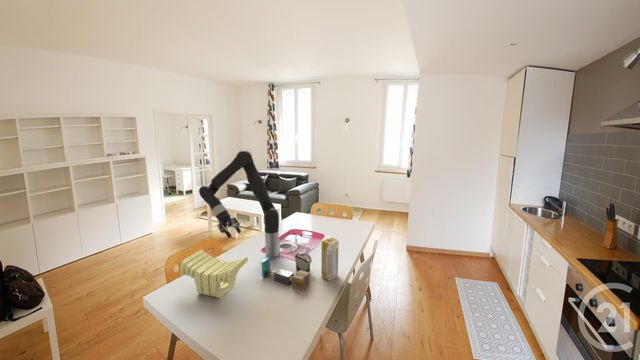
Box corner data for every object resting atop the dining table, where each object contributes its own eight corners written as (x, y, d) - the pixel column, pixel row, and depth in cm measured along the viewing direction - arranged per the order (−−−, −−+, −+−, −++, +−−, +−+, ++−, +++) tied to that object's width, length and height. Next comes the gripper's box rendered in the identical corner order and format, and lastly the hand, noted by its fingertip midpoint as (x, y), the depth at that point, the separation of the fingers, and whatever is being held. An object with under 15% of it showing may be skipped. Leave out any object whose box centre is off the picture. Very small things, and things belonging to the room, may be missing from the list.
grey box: (268, 272, 164) (267, 257, 162) (296, 280, 155) (296, 264, 153) (262, 277, 158) (261, 261, 157) (290, 285, 150) (290, 269, 148)
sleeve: (279, 276, 160) (279, 268, 159) (293, 280, 156) (293, 272, 155) (274, 281, 155) (273, 272, 154) (288, 285, 151) (288, 277, 150)
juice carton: (330, 271, 166) (330, 234, 162) (340, 276, 161) (340, 237, 156) (319, 277, 160) (319, 238, 155) (329, 282, 154) (329, 242, 150)
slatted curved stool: (182, 293, 144) (179, 262, 140) (203, 277, 159) (201, 249, 155) (231, 303, 135) (229, 270, 132) (248, 286, 150) (247, 256, 147)
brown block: (300, 281, 155) (300, 269, 154) (309, 283, 153) (309, 272, 151) (292, 288, 148) (292, 276, 147) (302, 291, 146) (302, 279, 144)
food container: (315, 272, 164) (315, 257, 163) (308, 276, 160) (308, 261, 158) (302, 265, 173) (301, 251, 171) (294, 269, 168) (294, 254, 166)
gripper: (216, 212, 160) (230, 235, 158) (232, 207, 173) (246, 228, 171) (208, 219, 163) (223, 241, 161) (225, 213, 176) (239, 234, 174)
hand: (235, 234), depth 166 cm, fingers open, 8 cm apart
